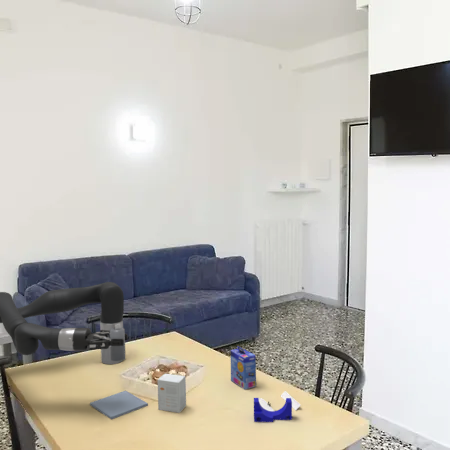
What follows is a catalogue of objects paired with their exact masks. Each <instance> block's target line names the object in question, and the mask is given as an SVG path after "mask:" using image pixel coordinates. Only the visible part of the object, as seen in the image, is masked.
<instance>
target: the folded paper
mask: <svg viewBox="0 0 450 450" xmlns="http://www.w3.org/2000/svg"><path fill="white" fill-rule="evenodd" d="M280 397H281V398H282V399H283V400H284V402H286V398H291V401H292V410H294V411H297V410H298V409H299V408H300V407H301V406H302V404H300V402H299V401H297V400H296V399H295V398H294V397H293V396H291V394H289V393H288V391H286V390H284V391H283V392H282V393H281V395H280ZM257 398H258V399H259V403H260V405H261V406H262V407H263V408H264V409H265V410H268V411H275V409H273V407H272V406H271V405H272V404H271V403H270V401H268V402H267V401H266V400H265V399H264V398H261V397H260V398H259V397H257Z"/></svg>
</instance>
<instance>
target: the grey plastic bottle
mask: <svg viewBox="0 0 450 450" xmlns="http://www.w3.org/2000/svg"><path fill="white" fill-rule="evenodd" d="M125 330H126V329H125V328H124V327H123V328H121V324H120V323H119V324H115V325H114V328H112V329H110V339H124V345H123V346H112V347H110V359H111V360H112V361H121V360H123V361H124V359H125V358H126V341H125V334H126V332H125ZM125 360H126V359H125Z"/></svg>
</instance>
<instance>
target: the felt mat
mask: <svg viewBox="0 0 450 450" xmlns="http://www.w3.org/2000/svg"><path fill="white" fill-rule="evenodd" d="M89 406H91V407H92V408H93V409H95V410H97V411H98V412H100V414H103V415H104V416H105V417H106V418H109V419H110V420H115V419H117V418H118V417H119V418H120V417H122V416H124V415H127V414H129V413H132V412H134V411H137V410H139V409H143V408H145V407H148V406H149V403H148V402H146V401H145V400H143V399H141V398H139V397H138V396H136V395H134V394H132V393H131V392H129V391H127V390H122V391H121V392H120V391H119V392H117V393H115V394H111V395H108V396H105V397H103V398H99V399H97V400H94V401H91V402H90V403H89Z"/></svg>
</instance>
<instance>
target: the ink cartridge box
mask: <svg viewBox="0 0 450 450" xmlns="http://www.w3.org/2000/svg"><path fill="white" fill-rule="evenodd" d="M236 347H237V348H234V349H231V350H230V351H229V352H230V381H231V382H232V383H234V384H236V386H239V387H240V388H242V389H243V390H249V389H252V388H256V387H257V366H256V365H257V361H256V354H254V353H253V352H250V351H248V350H246V349H245V348H242V347H241V346H237V345H236Z"/></svg>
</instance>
